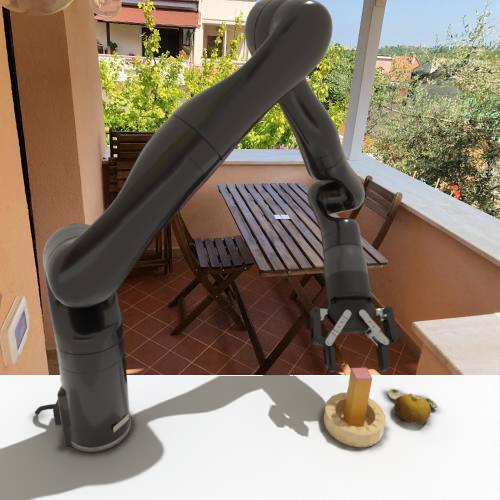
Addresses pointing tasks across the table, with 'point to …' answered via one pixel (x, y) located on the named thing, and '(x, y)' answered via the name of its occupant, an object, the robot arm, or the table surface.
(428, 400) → the fruit
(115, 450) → the table surface
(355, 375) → the pencil
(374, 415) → the bowl
